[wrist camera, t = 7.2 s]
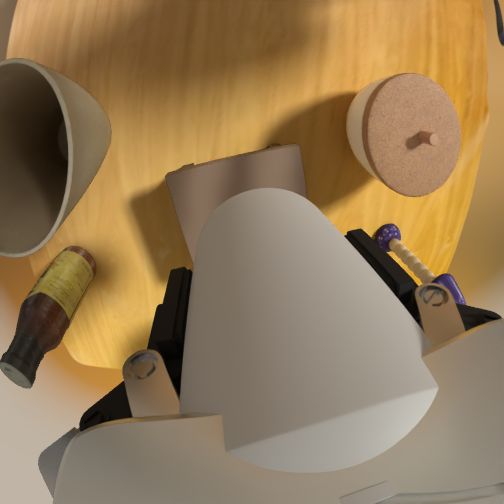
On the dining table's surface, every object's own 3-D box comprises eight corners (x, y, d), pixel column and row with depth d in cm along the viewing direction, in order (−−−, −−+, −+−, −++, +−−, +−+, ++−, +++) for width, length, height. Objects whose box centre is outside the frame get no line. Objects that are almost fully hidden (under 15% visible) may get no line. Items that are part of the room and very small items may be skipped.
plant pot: (156, 79, 24) (97, 54, 10) (128, 204, 31) (70, 278, 17) (49, 71, 21) (-42, 69, 7) (32, 183, 27) (-47, 236, 13)
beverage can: (268, 317, 16) (320, 531, 5) (171, 259, 13) (127, 534, 3) (349, 236, 14) (501, 439, 3) (254, 153, 12) (470, 459, 1)
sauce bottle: (61, 238, 31) (-20, 338, 14) (100, 251, 33) (32, 367, 16) (60, 276, 34) (-3, 378, 17) (96, 289, 36) (44, 402, 18)
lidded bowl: (427, 144, 30) (484, 164, 21) (361, 193, 33) (410, 228, 24) (385, 62, 25) (444, 54, 15) (308, 109, 28) (351, 110, 18)
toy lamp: (403, 239, 37) (474, 307, 23) (381, 259, 38) (445, 335, 24) (391, 217, 35) (469, 284, 21) (367, 239, 36) (436, 316, 22)
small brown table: (282, 138, 29) (299, 145, 23) (298, 233, 35) (314, 261, 29) (176, 162, 29) (164, 176, 23) (204, 254, 35) (201, 287, 29)
